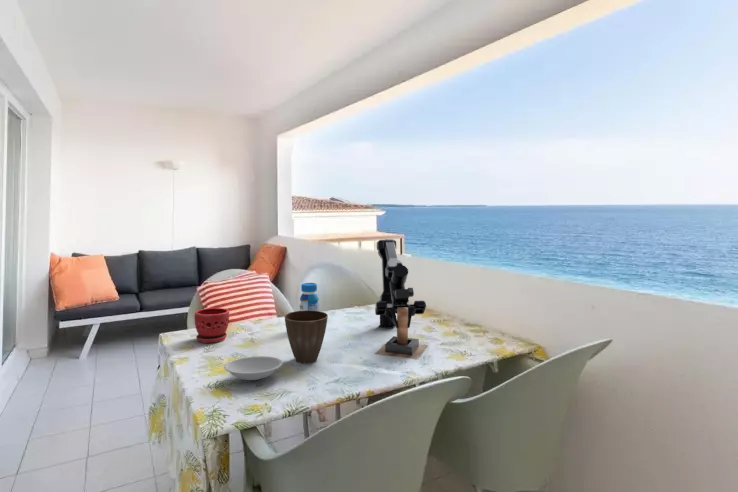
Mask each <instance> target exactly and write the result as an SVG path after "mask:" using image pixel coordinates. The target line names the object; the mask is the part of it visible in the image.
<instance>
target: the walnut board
mask: <svg viewBox="0 0 738 492" xmlns="http://www.w3.org/2000/svg"><path fill="white" fill-rule="evenodd" d="M385 344H386V343H384V344H383V345H382V346H381V347H380V348H379V349H378V350H377V351H376V352H375V353H374V355H381V356H388V357H389V356H390V357H395V358H396V357H397V358H403V359H404V358H405V359H412V360H414V359H415V360H419V359H420V357H421V356H422V355H423V354H424V352H425V351H426V349H427V348H428V347H429V345H428V344H421V343H419V347H418V348H417V350H416V351H415V352H414V353H413V355H405V354H397V353H389V352H385Z"/></svg>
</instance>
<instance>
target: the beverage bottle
mask: <svg viewBox="0 0 738 492" xmlns="http://www.w3.org/2000/svg"><path fill="white" fill-rule="evenodd" d="M300 285H301V286H300V287H301V293H302V294H301V295H300V298H299V301H300V303H299V311H307V310H310V311H320V308H319V307H320V303H319V299H320V298H319V295H318V294H317V293H316V292H317V291H318V290H317V289H318V285H317V283H315V282H305V283H301V284H300Z"/></svg>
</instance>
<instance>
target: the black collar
mask: <svg viewBox="0 0 738 492" xmlns="http://www.w3.org/2000/svg"><path fill="white" fill-rule="evenodd" d="M419 341H420V338H412V337H408V345H405V344H397V335H395V336H394V335H393V336H392V337H391V338H390V339H389V340H388V341H386V343H384V344H385V352H389V353H397V354H405V355H413V353H414V352H415V351H416V350H417V348H418V347H419V344H420V342H419Z"/></svg>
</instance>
